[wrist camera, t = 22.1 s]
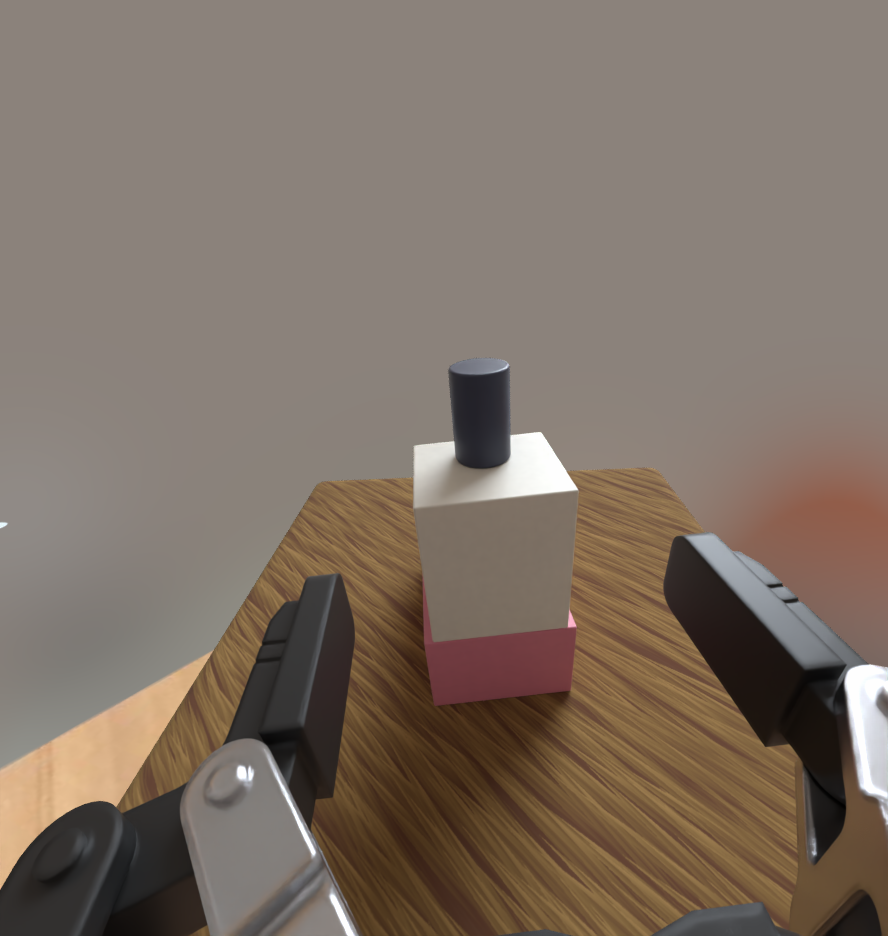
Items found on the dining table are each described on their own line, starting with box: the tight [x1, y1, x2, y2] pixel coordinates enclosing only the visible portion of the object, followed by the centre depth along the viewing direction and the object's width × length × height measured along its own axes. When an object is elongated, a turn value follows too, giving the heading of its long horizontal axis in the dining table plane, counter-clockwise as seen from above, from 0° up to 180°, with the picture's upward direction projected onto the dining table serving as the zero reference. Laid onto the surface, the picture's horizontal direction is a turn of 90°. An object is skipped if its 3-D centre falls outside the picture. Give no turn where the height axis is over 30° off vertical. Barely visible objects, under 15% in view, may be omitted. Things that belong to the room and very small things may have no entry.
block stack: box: [413, 358, 579, 706], centre depth 17 cm, size 10×5×12 cm, turn 4°
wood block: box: [116, 468, 798, 936], centre depth 26 cm, size 25×25×25 cm
